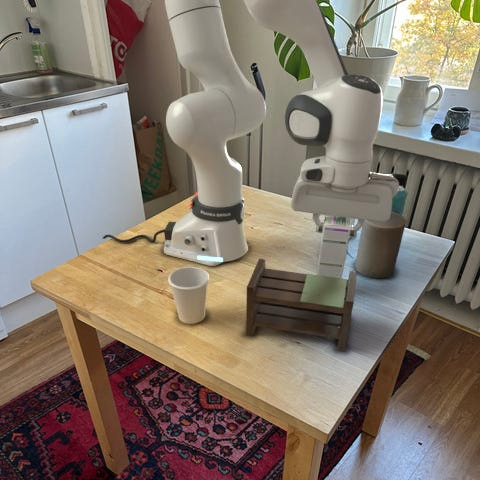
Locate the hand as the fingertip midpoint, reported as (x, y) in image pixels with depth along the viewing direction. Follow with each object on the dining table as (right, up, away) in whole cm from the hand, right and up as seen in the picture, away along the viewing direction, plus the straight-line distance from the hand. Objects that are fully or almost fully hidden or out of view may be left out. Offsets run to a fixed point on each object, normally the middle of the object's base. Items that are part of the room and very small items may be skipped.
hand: (335, 233), depth 97 cm
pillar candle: (+13, -6, +17) cm, 22 cm away
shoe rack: (-8, -20, -2) cm, 22 cm away
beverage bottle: (+18, +1, +26) cm, 32 cm away
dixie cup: (-31, -18, +2) cm, 36 cm away
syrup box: (0, -9, +7) cm, 11 cm away
